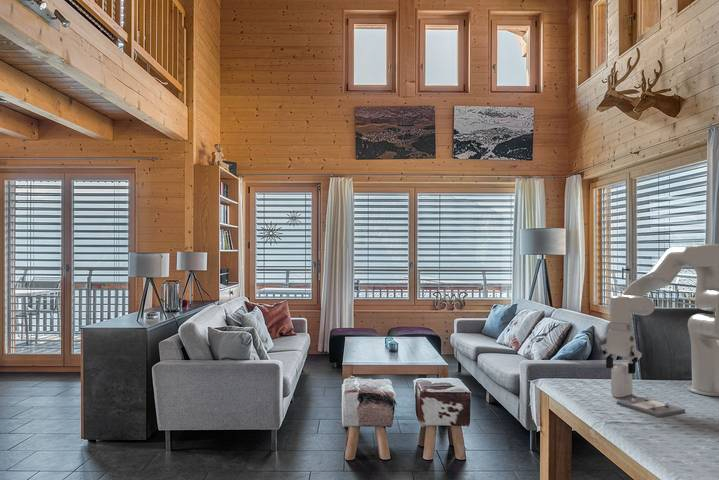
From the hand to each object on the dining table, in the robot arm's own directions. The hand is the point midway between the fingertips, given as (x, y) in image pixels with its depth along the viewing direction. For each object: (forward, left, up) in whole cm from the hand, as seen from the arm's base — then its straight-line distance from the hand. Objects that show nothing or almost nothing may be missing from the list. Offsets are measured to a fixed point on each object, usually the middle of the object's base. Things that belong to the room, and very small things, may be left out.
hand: (620, 370), depth 187 cm
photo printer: (-1, 0, -10) cm, 10 cm away
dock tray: (+4, +15, -10) cm, 19 cm away
